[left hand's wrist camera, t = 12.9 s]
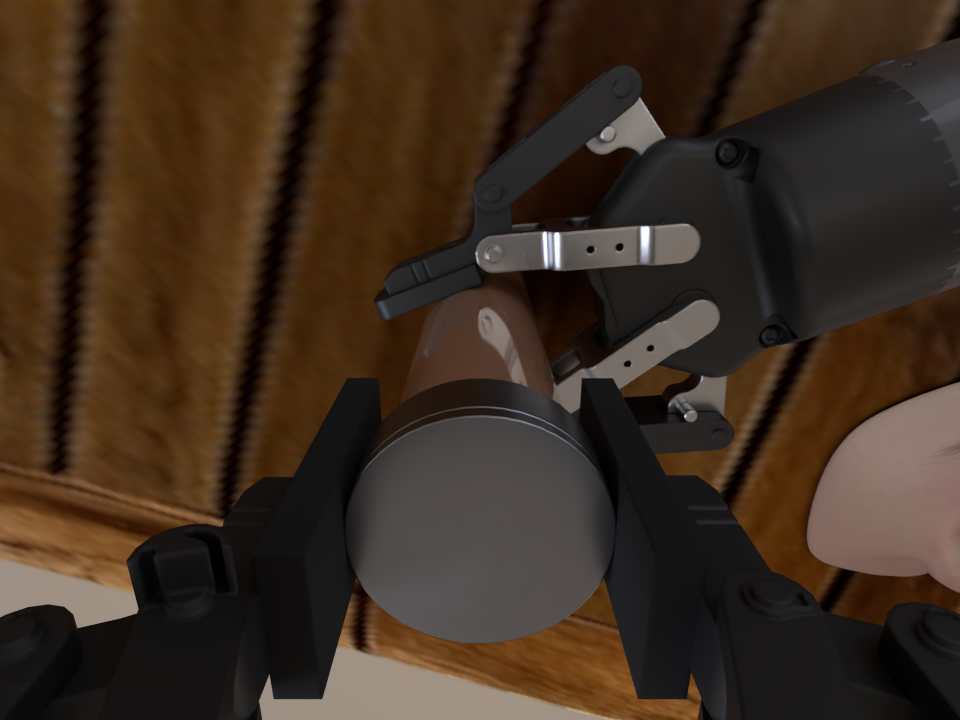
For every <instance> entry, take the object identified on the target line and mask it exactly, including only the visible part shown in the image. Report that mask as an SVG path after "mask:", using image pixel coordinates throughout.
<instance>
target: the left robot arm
mask: <svg viewBox="0 0 960 720" xmlns="http://www.w3.org/2000/svg"><path fill="white" fill-rule="evenodd" d="M380 424H381V408H380V393H379V378H347V380H346V382H345V384H344V385H343V387H342V389H341V391H340V393H339V395H338V396H337V398H336V400H335V402H334V404H333V405H332V407H331V409H330V411H329V413H328V415H327V416H326V418H325V420H324V422H323V424H322V426H321V427H320V429H319V431H318V433H317V435H316V437H315V438H314V440H313V442H312V444H311V446H310V448H309V449H308V451H307V453H306V455H305V457H304V459H303V460H302V462H301V464H300V466H299V468H298V470H297V471H296V473H295V475H294V477H264V478H262V479H261V480H259V481H258V482H257V483H255V484H254V485H253V486H251V487H250V488H248V489H247V490H246V491H244V492H243V494H242V495H241V497H240V498H239V500H238V501H237V503H236V504H235V506H234V507H233V511H232V512H230V513H229V515H228V516H227V518H226V519H225V521H224V522H223V527H217V526H213V525H209V524H189V525H185V526H181V527H176V528H172V529H169V530H166V531H164V532H162V533H160V534H158V535H155V536H153V537H151V538H149V539H148V540H147V541H145V542H144V543H143V544H141V545H140V546H138V547H137V548H136V549H135V550H134V551H133V553H132V554H131V555H130V557H129V558H128V559H127V561H126V562H127V565H128V569H129V573H130V577H131V581H132V585H133V589H134V593H135V597H136V600H137V604H138V608H139V610H138V612H137V614H134V615H131V616H127V617H124V618H121V619H116V620H112V621H107V622H103V623H99V624H94V625H90V626H86V627H81V628H77V625H76V622H75V619H74V616H73V614H72V613H71V612H70V611H68V610H67V609H66V608H65V607H62V606H55V605H41V606H33V607H27V608H24V609H21V610H18V611H15V612H12V613H10V614H7V615H4V616H2V617H1V618H0V720H262V716H261V710H260V704H259V699H260V697H261V694H262V692H263V689H264V687H265V684H266V681H267V679H268V676H269V674H270V679H271V685H272V691H273V697H274V699H322V698H323V694H324V691H325V687H326V684H327V680H328V676H329V673H330V669H331V666H332V662H333V659H334V655H335V652H336V648H337V644H338V641H339V637H340V634H341V630H342V627H343V623H344V619H345V616H346V612H347V609H348V605H349V602H350V598H351V594H352V591H353V587H354V584H355V580H356V575H355V573H354V571H353V569H352V567H351V565H350V562H349V558H348V555H347V552H346V546H345V536H344V516H345V510H346V505H347V502H348V499H349V496H350V493H351V490H352V487H353V484H354V482H355V479H356V476H357V473H358V471H359V468H360V465H361V462H362V460H363V457H364V454H365V451H366V448H367V446H368V444H369V442H370V440H371V438H372V436H373V434H374V433H375V431H376V430H377V428H378V427H379V426H380ZM579 424H580V425H581V426H582V428H583V429H584V431H585V432H586V434H587V435H588V437H589V439H590V441H591V443H592V445H593V448H594V450H595V452H596V455H597V458H598V461H599V463H600V466H601V469H602V472H603V474H604V477H605V480H606V483H607V486H608V488H609V491H610V493H611V496H612V500H613V504H614V507H615V511H616V521H617V528H616V539H615V549H614V554H613V557H612V560H611V563H610V565H609V568H608V570H607V572H606V574H605V576H604V579H605V583H606V586H607V590H608V593H609V597H610V601H611V604H612V608H613V611H614V615H615V618H616V622H617V626H618V629H619V633H620V636H621V640H622V643H623V647H624V651H625V654H626V658H627V661H628V665H629V668H630V672H631V676H632V679H633V683H634V686H635V690H636V693H637V697H638V699H687V693H688V687H689V681H690V675H691V673H692V675H693V678H694V680H695V683H696V685H697V688H698V690H699V693H700V696H701V698H702V699H701V704H700V710H699V715H698V720H960V614H958V613H956V612H953V611H950V610H948V609H944V608H941V607H938V606H935V605H931V604H924V603H916V602H910V603H903V604H897V605H896V606H895V607H893V608H892V609H891V610H890V611H889V612H888V614H887V617H886V620H885V623H884V626H881V625H877V624H872V623H868V622H864V621H859V620H855V619H850V618H846V617H842V616H838V615H835V614H831V613H828V612H824V611H822V609H821V607H820V606H819V604H818V602H817V601H816V599H815V598H814V596H813V595H812V594H811V593H810V592H808V591H807V590H806V589H805V588H803V587H802V586H801V585H800V584H799V583H797V582H795V581H793V580H791V579H789V578H787V577H785V576H783V575H781V574H777V573H774V572H771V570H770V569H769V567H768V566H767V564H766V563H765V561H764V560H763V558H762V557H761V555H760V554H759V552H758V551H757V549H756V548H755V546H754V545H753V543H752V542H751V540H750V539H749V537H748V536H747V534H746V533H745V531H744V530H743V528H742V527H741V525H738V523H737V519H736V518H735V516H734V515H733V513H732V512H731V510H728V506H727V504H726V503H725V501H724V500H723V498H722V497H721V495H720V494H719V492H718V491H717V490H716V489H715V488H713V487H712V486H711V485H709V484H708V483H706V482H705V481H704V480H702V479H701V478H699V477H698V476H666V474H665V473H664V471H663V469H662V467H661V465H660V463H659V462H658V460H657V458H656V456H655V454H654V453H653V451H652V449H651V447H650V445H649V443H648V442H647V440H646V438H645V436H644V434H643V432H642V431H641V429H640V427H639V425H638V423H637V421H636V420H635V418H634V416H633V414H632V412H631V410H630V409H629V407H628V405H627V403H626V401H625V399H624V398H623V396H622V394H621V392H620V390H619V388H618V387H617V385H616V383H615V381H614V379H613V378H582V382H581V397H580V413H579Z"/></svg>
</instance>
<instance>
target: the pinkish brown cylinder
mask: <svg viewBox="0 0 960 720" xmlns="http://www.w3.org/2000/svg"><path fill="white" fill-rule="evenodd" d="M482 283H483V284H481V285H478V286H475V287H473V288H470V289H468V290H465V291H462V292H459V293H456V294H454V295H451V296H449V297H447V298H444V299H441V300H439V301H436V302H433V303H431V304H429V305H428V309H427V312H426V315H425V318H424V322H423V325H422V328H421V332H420V335H419V338H418V342H417V345H416V348H415V351H414V355H413V358H412V361H411V365H410V368H409V371H408V375H407V378H406V381H405V384H404V388H403V391H402V394H401V398H400V401H399V404H398V406H399V405H401V404H402V403H403V402H404V401H406V400H407V399H409V398H411V397H413V396H414V395H416V394H418V393H419V392H422V391H424V390H426V389H429V388H431V387H433V386H436V385H440V384H443V383H447V382H450V381H457V380H463V379H478V378H486V379H498V380H504V381H509V382H514V383H518V384H521V385H524V386H527V387H529V388H532V389H534V390H536V391H539V392H541V393H543V394H545V395H547V396H548V397H550V398H551V399H553V400H554V401H556V402H557V403H559V404H560V405H561V406H562V403H561V400H560V396H559V393H558V390H557V386H556V383H555V380H554V377H553V373H552V370H551V367H550V363H549V360H548V357H547V354H546V350H545V347H544V344H543V340H542V337H541V334H540V331H539V327H538V324H537V321H536V317H535V314H534V311H533V308H532V304H531V301H530V298H529V294H528V291H527V288H526V285H525V281H524V278H523V276H522V273H521V272H520V271H513V272H501V273H487V274H485V275H482Z"/></svg>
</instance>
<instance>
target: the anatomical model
mask: <svg viewBox="0 0 960 720" xmlns="http://www.w3.org/2000/svg"><path fill="white" fill-rule="evenodd" d="M807 542H808V547H809V549H810V551H811V553H812V554H813V555H814V556H815V557H816V558H818V559H819V560H821V561H823V562H825V563H827V564H830V565H833V566H836V567H840V568H844V569H848V570H853V571H858V572H863V573H868V574H875V575H886V576H904V577H906V576H917V575H923V574H926V573H929V574H930V575H931V576H932V577H934V578H935V579H936V580H937V581H939V582H941V583H942V584H944V585H945V586H947V587H948V588H950V589H952V590H954V591H957V592H960V382H958V383H954V384H951V385H948V386H945V387H942V388H939V389H937V390H934V391H931V392H928V393H925V394H922V395H920V396H917V397H914V398H912V399H909V400H907V401H904V402H902V403H900V404H897V405H895V406H893V407H891V408H889V409H887V410H884V411H882V412H881V413H879V414H877V415H875V416H873V417H872V418H870V419H868V420H867V421H865V422H863V423H862V424H861V425H860V426H858V427H857V428H856V429H855V430H853V431H852V432H851V433H850V434H849V435H848V436H847V437H846V438H845V439H844V440H843V442H842V443H841V444H840V445H839V446H838V448H837V449H836V451H835V452H834V454H833V455H832V457H831V459H830V461H829V463H828V464H827V466H826V468H825V470H824V472H823V475H822V477H821V479H820V482H819V484H818V487H817V490H816V493H815V497H814V500H813V503H812V507H811V512H810V516H809V521H808V528H807Z"/></svg>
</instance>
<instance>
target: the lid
mask: <svg viewBox="0 0 960 720" xmlns="http://www.w3.org/2000/svg"><path fill="white" fill-rule="evenodd" d="M616 528H617V521H616V511H615V507H614V504H613V500H612V496H611V493H610V491H609V488H608V486H607V483H606V480H605V477H604V474H603V472H602V469H601V466H600V463H599V461H598V458H597V455H596V452H595V450H594V448H593V445H592V443H591V441H590V439H589V437H588V435H587V434H586V432H585V431H584V429H583V428H582V426H581V425H580V424H579V423H578V421H577V420H576V419H575V418H574V417H573V416H572V414H570V413H569V412H568V411H567V410H566V409H565V408H564V407H563V406H561V405H560V404H559V403H557V402H556V401H554V400H553V399H551V398H550V397H548V396H547V395H545V394H543V393H541V392H539V391H536V390H534V389H532V388H529V387H527V386H524V385H521V384H518V383H514V382H509V381H504V380H498V379H486V378H478V379H463V380H457V381H450V382H447V383H443V384H440V385H436V386H433V387H431V388H429V389H426V390H424V391H422V392H419V393H418V394H416V395H414V396H413V397H411V398H409V399H407V400H406V401H404V402H403V403H402V404H401V405H399V406H398V407H397V408H396V409H394V410H393V411H392V412H391V413H390V414H389V415H388V416H387V417H386V418H385V419H384V420H383V422H382V423H381V424H380V426H379V427H378V428H377V430H376V431H375V433H374V434H373V436H372V438H371V440H370V442H369V444H368V446H367V448H366V451H365V454H364V457H363V460H362V462H361V465H360V468H359V471H358V473H357V476H356V479H355V482H354V484H353V487H352V490H351V493H350V496H349V499H348V502H347V505H346V510H345V516H344V536H345V546H346V552H347V555H348V558H349V562H350V565H351V567H352V569H353V571H354V573H355V575H356V577H357V579H358V581H359V582H360V584H361V585H362V587H363V588H364V590H365V591H366V592H367V593H368V594H369V596H370V597H371V598H372V599H373V600H374V601H375V602H376V603H377V604H378V605H379V606H380V607H381V608H382V609H384V610H385V611H386V612H387V613H388V614H390V615H391V616H393V617H394V618H396V619H397V620H399V621H400V622H402V623H404V624H406V625H408V626H409V627H411V628H413V629H416V630H418V631H421V632H423V633H426V634H428V635H431V636H435V637H438V638H442V639H446V640H452V641H458V642H468V643H494V642H502V641H510V640H514V639H518V638H522V637H526V636H529V635H532V634H535V633H538V632H540V631H543V630H545V629H547V628H549V627H551V626H553V625H555V624H557V623H558V622H560V621H562V620H563V619H565V618H566V617H568V616H569V615H571V614H572V613H573V612H574V611H576V610H577V609H578V608H579V607H581V606H582V605H583V604H584V603H585V601H586V600H587V599H588V598H589V597H590V596H591V595H592V594H593V593H594V591H595V590H596V589H597V587H598V586H599V585H600V583H601V581H602V580H603V578H604V576H605V574H606V572H607V570H608V568H609V565H610V563H611V560H612V557H613V554H614V549H615V539H616Z"/></svg>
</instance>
